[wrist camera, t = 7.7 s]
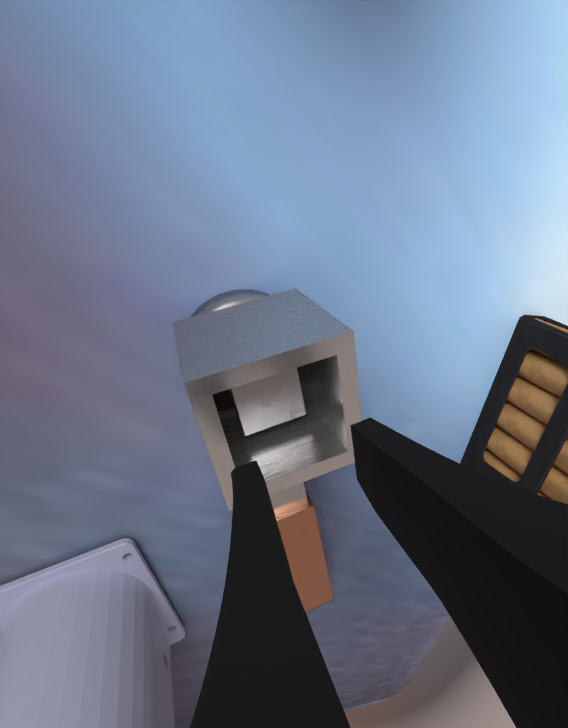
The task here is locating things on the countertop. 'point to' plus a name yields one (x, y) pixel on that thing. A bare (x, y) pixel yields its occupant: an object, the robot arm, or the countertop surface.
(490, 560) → the robot arm
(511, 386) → the ammunition clip
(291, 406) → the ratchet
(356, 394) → the hollow square box
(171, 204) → the countertop surface
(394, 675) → the countertop surface
